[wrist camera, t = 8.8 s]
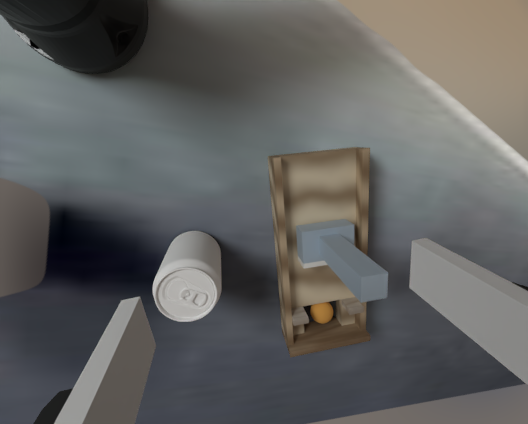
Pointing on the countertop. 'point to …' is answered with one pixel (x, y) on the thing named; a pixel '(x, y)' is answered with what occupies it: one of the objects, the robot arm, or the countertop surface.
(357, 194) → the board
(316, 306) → the ball
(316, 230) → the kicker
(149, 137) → the countertop surface
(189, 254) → the beverage can
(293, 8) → the countertop surface
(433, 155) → the countertop surface
